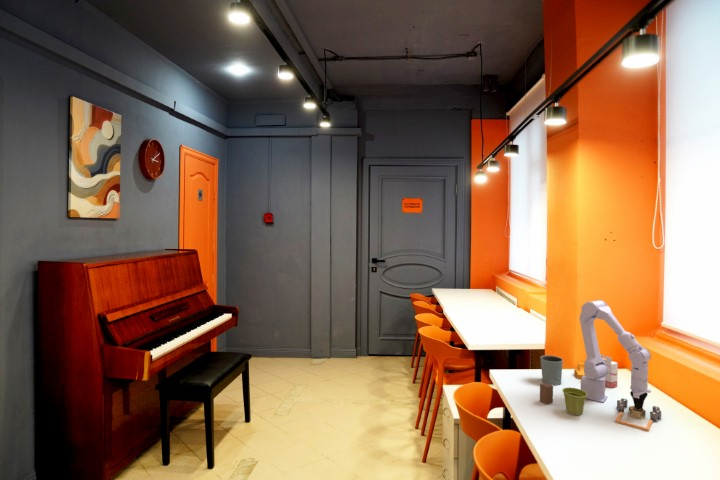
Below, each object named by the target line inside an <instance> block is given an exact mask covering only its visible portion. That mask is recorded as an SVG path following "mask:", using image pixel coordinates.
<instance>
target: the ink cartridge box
mask: <svg viewBox="0 0 720 480" xmlns="http://www.w3.org/2000/svg"><path fill="white" fill-rule="evenodd" d="M600 356H601V357H602V358H603V359H604V361H605V364H606V366H607V367H608V374H607V375H605V387H607V388H610V389H612V388H617V387H618V371H619V370H618V369H619V368H618V367H619V365H618V362H616V361H613V358H612V357H610V356H606V355H604V354H601V353H600Z"/></svg>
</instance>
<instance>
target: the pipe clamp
mask: <svg viewBox="0 0 720 480" xmlns="http://www.w3.org/2000/svg"><path fill="white" fill-rule="evenodd" d="M584 368H585V364H584V362H577V368H574V369H573V370H574V371H573V373H574V374H573V375H574V376H575V377H576V378H577V379H578V380H581V378H582V376H586V375H585V373H584Z"/></svg>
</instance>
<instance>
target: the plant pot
mask: <svg viewBox="0 0 720 480" xmlns="http://www.w3.org/2000/svg"><path fill="white" fill-rule="evenodd" d="M562 393H563V396H564V402H565V403H564V405H565V411H566V412H567V413H568V414H570V415H574V416H582V415H583V414H584V413H583V412H584V407H585V403H586V402H585V401H586V399H587V398H586V397H587V395H588V394H587V393H586V392H585V391H583V390H581V388H575V387H563V388H562Z"/></svg>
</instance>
